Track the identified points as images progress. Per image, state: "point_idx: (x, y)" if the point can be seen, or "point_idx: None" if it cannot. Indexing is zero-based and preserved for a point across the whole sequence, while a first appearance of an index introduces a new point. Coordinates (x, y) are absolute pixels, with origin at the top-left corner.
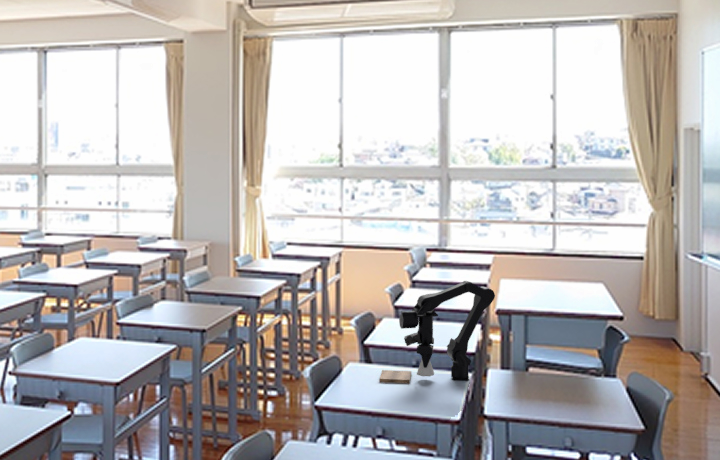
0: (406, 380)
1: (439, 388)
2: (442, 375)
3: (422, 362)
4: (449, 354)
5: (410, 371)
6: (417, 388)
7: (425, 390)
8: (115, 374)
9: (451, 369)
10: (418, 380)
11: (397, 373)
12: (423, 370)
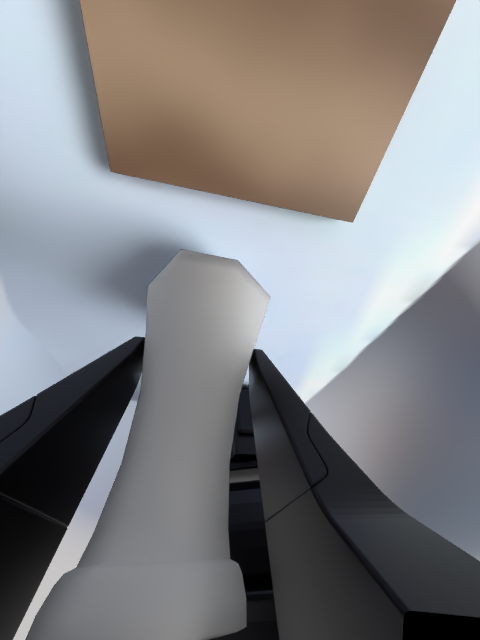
0: (108, 134)
1: (93, 338)
2: (285, 364)
3: (154, 356)
4: (241, 520)
5: (349, 213)
6: (29, 225)
7: (18, 272)
8: None
9: (239, 419)
10: (210, 254)
11: (332, 18)
12: (147, 316)
